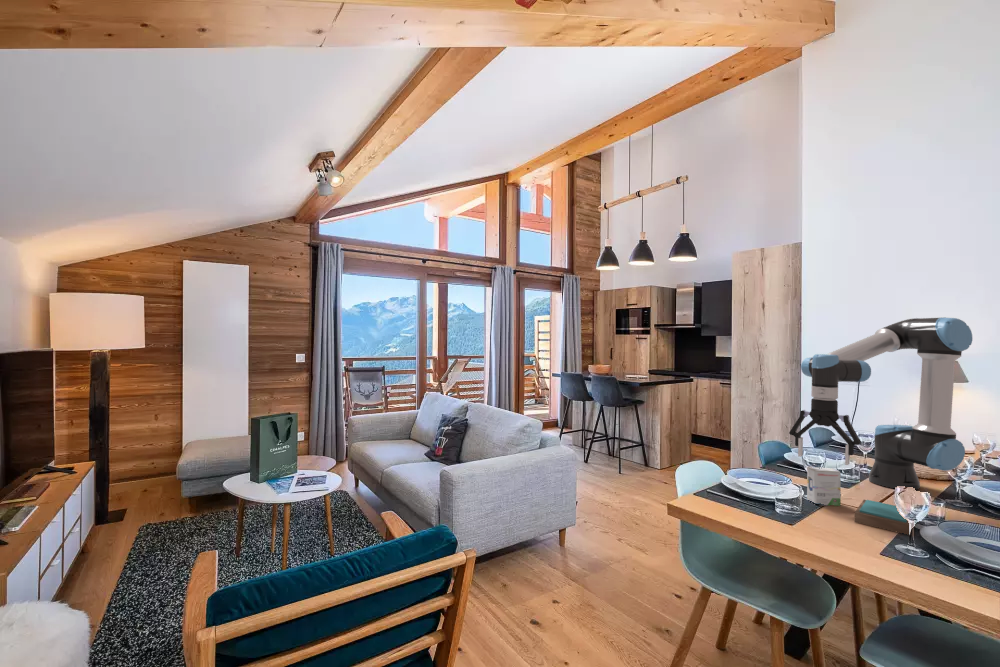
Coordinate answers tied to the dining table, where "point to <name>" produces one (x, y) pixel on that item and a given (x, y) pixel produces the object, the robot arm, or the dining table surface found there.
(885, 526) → the walnut tray
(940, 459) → the robot arm
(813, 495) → the ink box
